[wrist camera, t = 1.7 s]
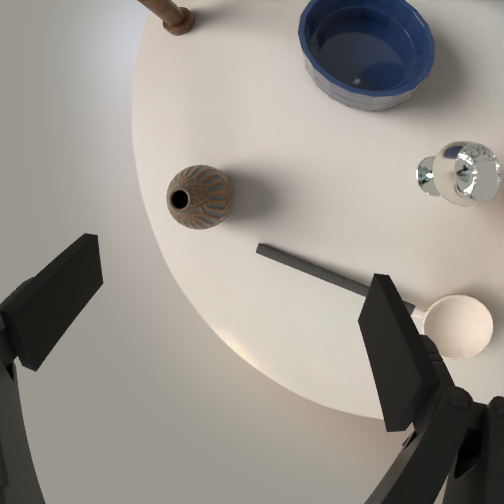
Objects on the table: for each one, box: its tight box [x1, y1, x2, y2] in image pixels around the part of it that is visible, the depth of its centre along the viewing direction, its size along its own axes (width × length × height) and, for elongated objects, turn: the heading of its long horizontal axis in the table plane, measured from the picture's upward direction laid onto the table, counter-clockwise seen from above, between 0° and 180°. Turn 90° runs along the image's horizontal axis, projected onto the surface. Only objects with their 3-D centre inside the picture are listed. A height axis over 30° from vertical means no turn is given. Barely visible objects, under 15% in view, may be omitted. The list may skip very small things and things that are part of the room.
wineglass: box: [416, 141, 501, 207], centre depth 25 cm, size 6×6×12 cm
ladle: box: [256, 243, 494, 360], centre depth 34 cm, size 8×31×4 cm, turn 72°
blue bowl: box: [298, 0, 434, 111], centre depth 27 cm, size 14×14×6 cm
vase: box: [167, 165, 234, 230], centre depth 33 cm, size 7×7×9 cm
